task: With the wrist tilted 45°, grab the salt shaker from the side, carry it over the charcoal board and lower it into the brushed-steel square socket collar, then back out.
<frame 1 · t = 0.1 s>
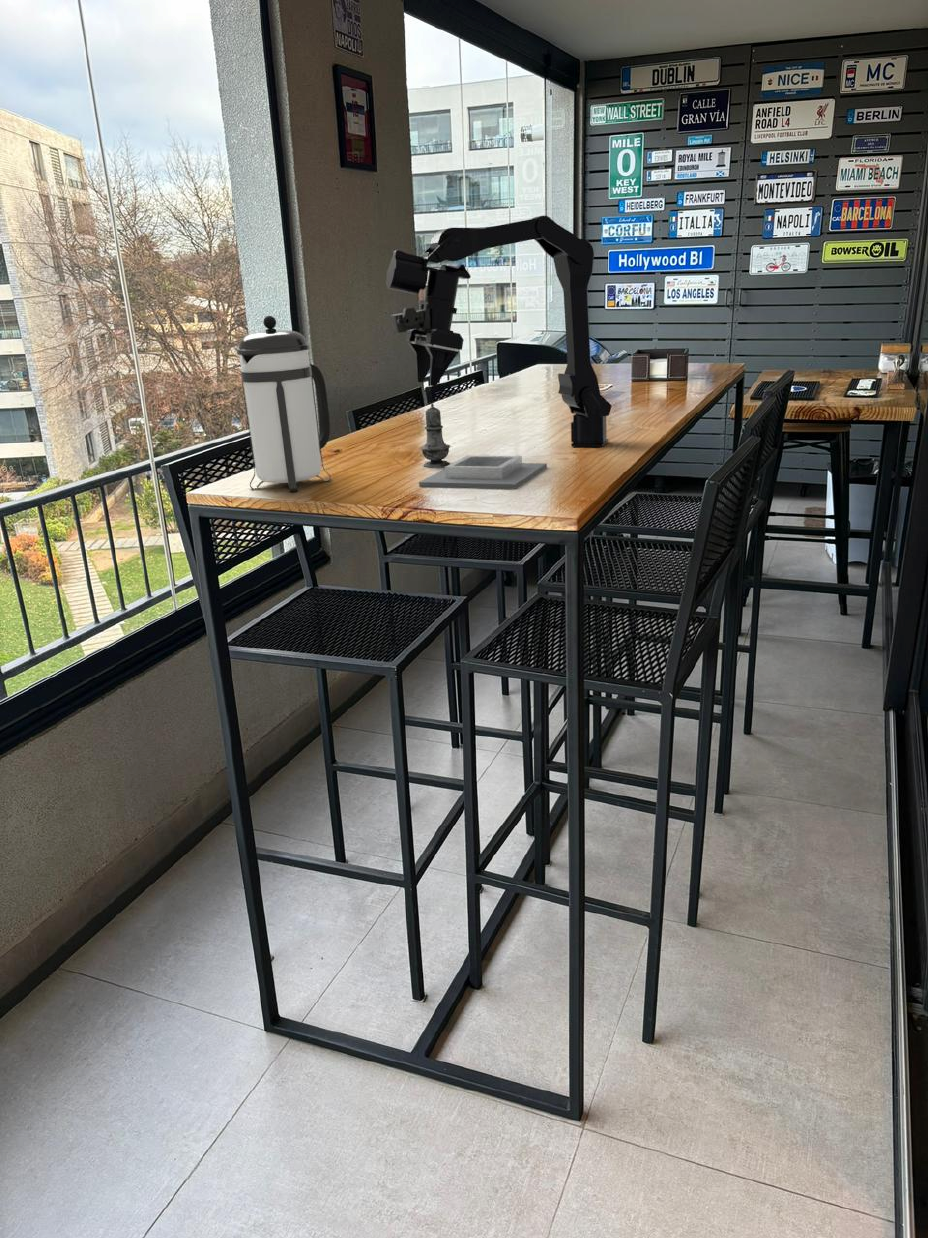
hand: (426, 383, 174), 15 cm above the table, tool pointing down, fingers open, 9 cm apart
salt shaker: (436, 465, 179), on the table
socket board: (484, 476, 165), on the table
socket collar: (484, 466, 164), on the socket board, point 1 cm above the table
coffee press: (294, 484, 170), on the table
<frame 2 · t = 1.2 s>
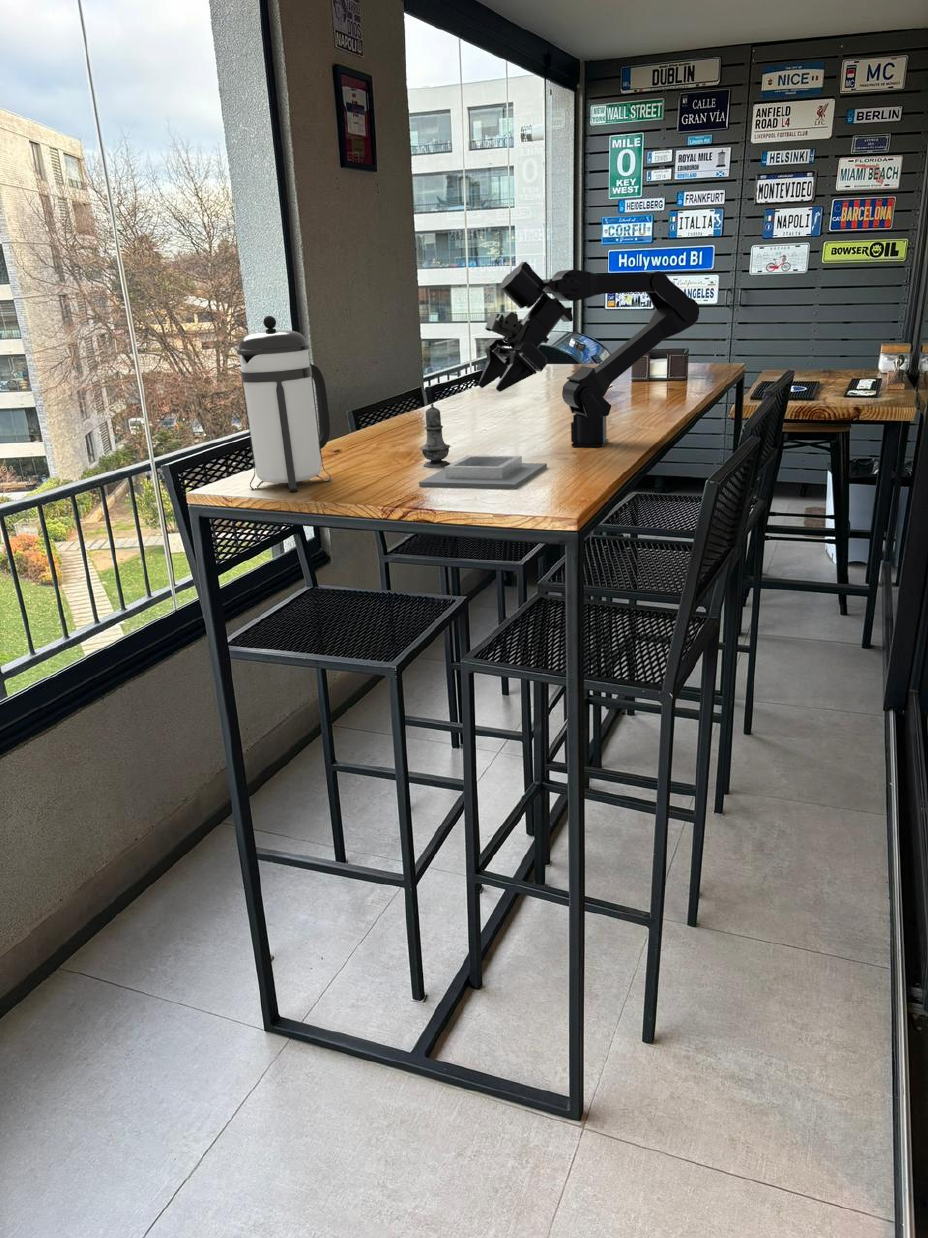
hand: (488, 388, 178), 14 cm above the table, tool tilted 45°, fingers open, 9 cm apart
nothing on the table moved.
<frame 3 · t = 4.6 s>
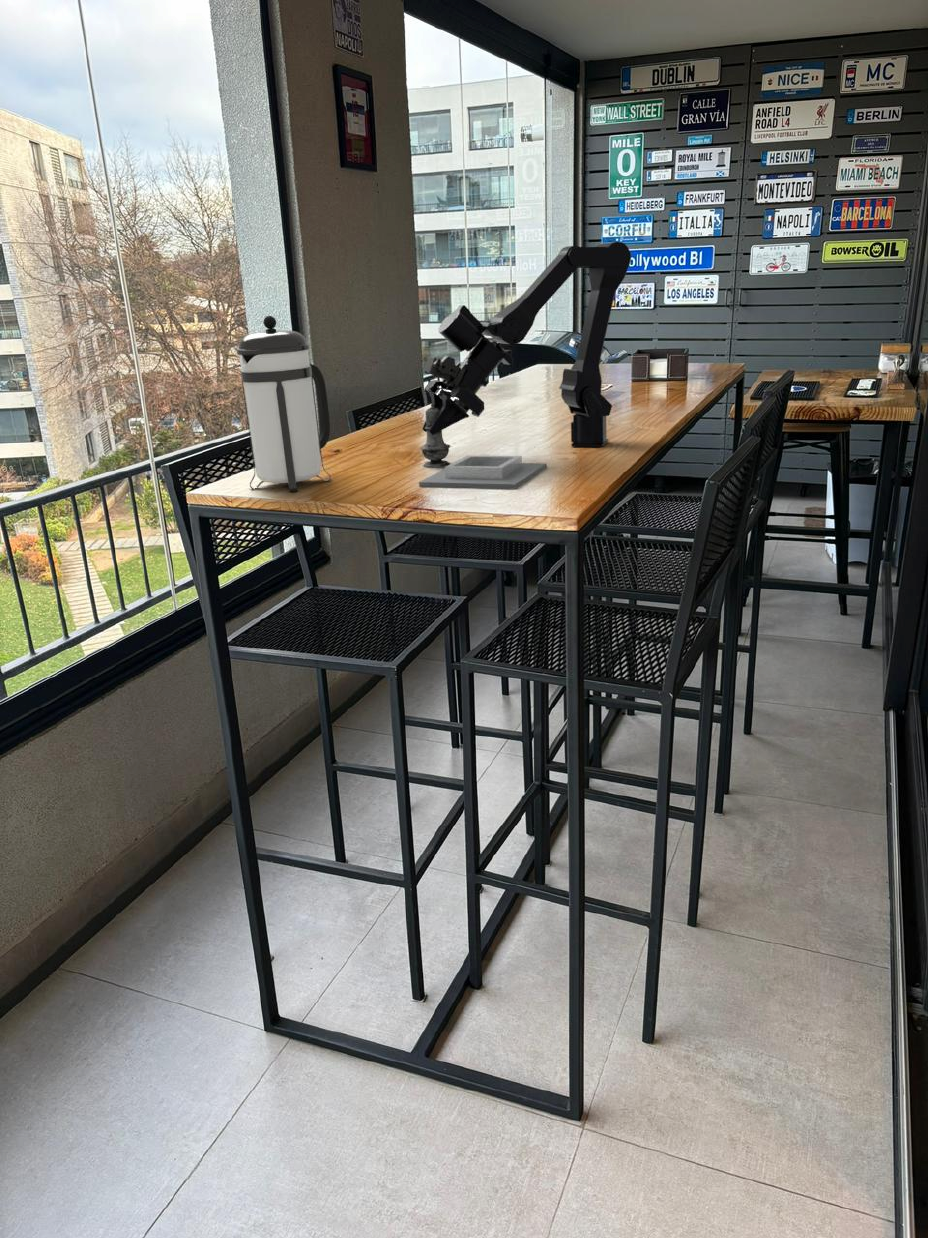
hand: (427, 431, 176), 7 cm above the table, tool tilted 45°, fingers closed on salt shaker, 4 cm apart
salt shaker: (436, 465, 179), on the table, touching gripper
everything else where it was.
when the fingers open (8 cm above the table, at t = 8.3 s): salt shaker stays where it is, resting on socket board.
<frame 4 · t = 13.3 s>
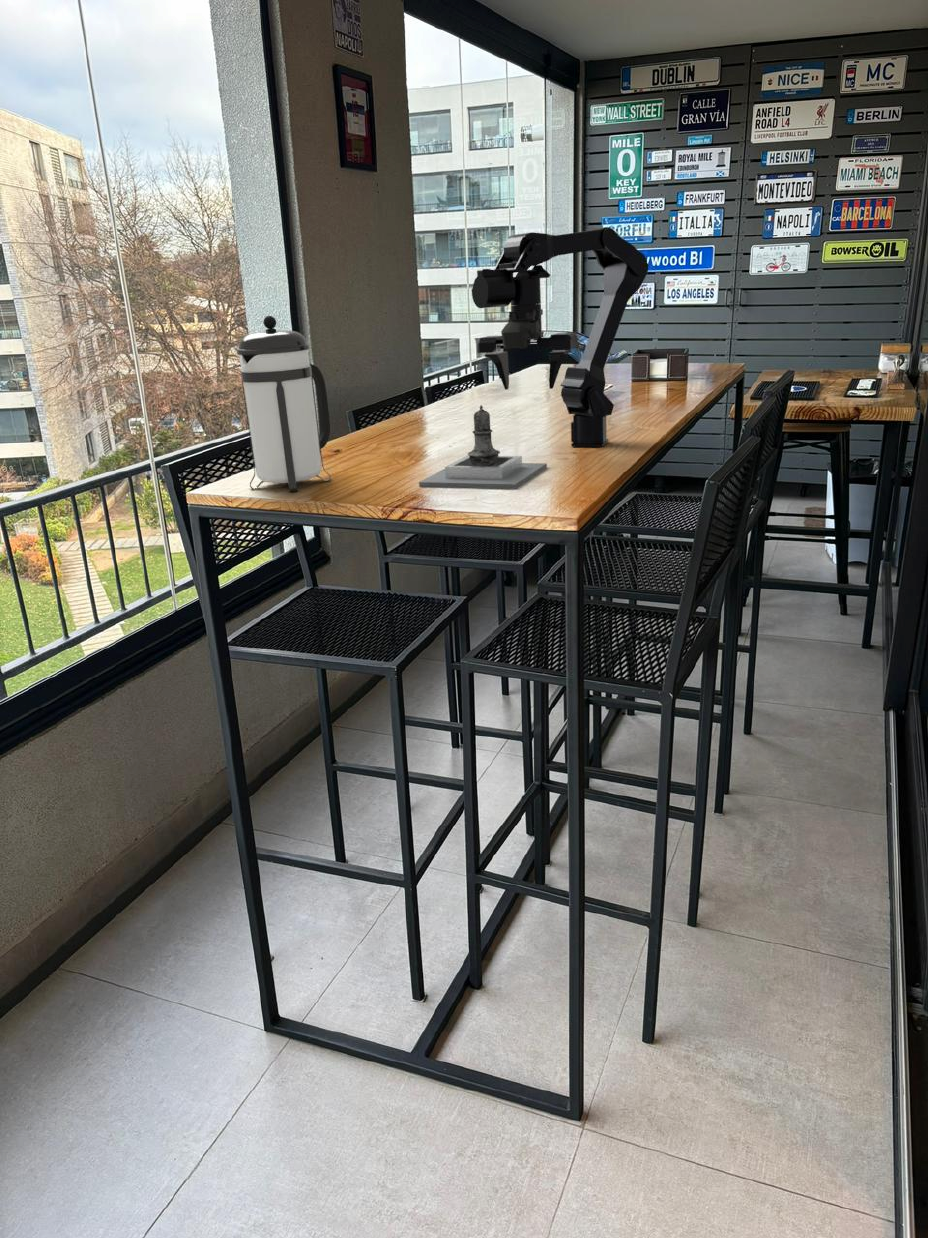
hand: (528, 388, 178), 13 cm above the table, tool pointing down, fingers open, 9 cm apart
salt shaker: (484, 473, 165), point 1 cm above the table, touching socket board
everything else where it was.
at the end: salt shaker 0.2 cm off-centre on the socket collar, point 0.6 cm above the socket collar's base; salt shaker tilted 0°; the gripper is holding nothing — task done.
